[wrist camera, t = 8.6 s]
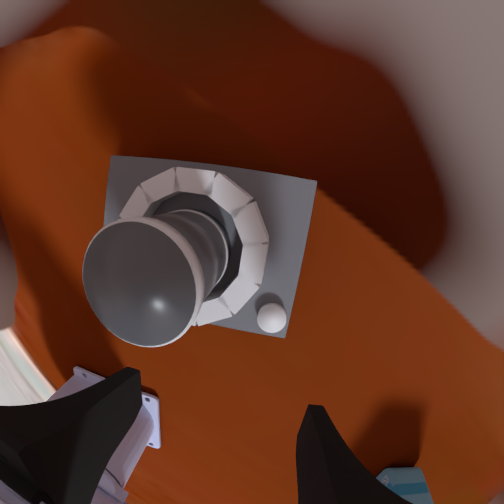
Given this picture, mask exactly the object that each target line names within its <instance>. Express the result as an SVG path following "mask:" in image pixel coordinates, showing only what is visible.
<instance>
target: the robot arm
mask: <svg viewBox="0 0 504 504" xmlns="http://www.w3.org/2000/svg"><path fill="white" fill-rule="evenodd" d="M73 371H74V375H73V376H72V377H71V378H70V379H69V380H68V381H67V382H66V383H65V384H64V385H63V386H62V387H61V388H60V389H59V390H58V391H57V392H56V393H54V394H53V395H52V396H51V397H50V398H49V399H48V400H47V401H46V402H42V403H37V404H31V405H22V406H0V504H128V503H126V502H125V500H126V498H127V496H128V492H126V491H125V490H124V489H123V488H124V487H125V485H126V483H127V481H128V479H129V477H130V475H131V473H132V472H133V470H134V468H135V466H136V464H137V462H138V460H139V458H140V457H141V455H142V453H143V451H144V449H145V447H146V445H148V446H151V447H154V448H160V446H161V438H160V418H159V399H158V398H157V397H156V396H154V395H151V394H148V393H145V392H142V390H141V377H140V370H137V369H134V368H130V367H126V368H124V369H122V370H120V371H119V372H117V373H115V374H113V375H111V376H109V377H108V378H104V377H102V376H99V375H97V374H95V373H92V372H90V371H87V370H85V369H83V368H81V367H78V366H75V367H74V368H73ZM148 398H149V399H148ZM296 467H297V482H298V504H413V503H411V502H409V501H407V500H405V499H403V498H402V497H400V496H399V495H397V494H396V493H394V492H393V491H391V490H390V489H389V488H387V487H386V486H385V485H384V484H382V483H381V482H380V481H379V480H378V479H376V478H375V477H374V476H373V475H372V474H371V473H370V472H369V471H368V470H367V469H366V468H365V467H364V466H363V465H362V464H361V463H360V461H359V460H358V459H357V458H356V457H355V455H354V454H353V453H352V451H351V450H350V449H349V447H348V446H347V445H346V443H345V442H344V440H343V439H342V437H341V436H340V434H339V432H338V431H337V429H336V428H335V426H334V424H333V422H332V421H331V419H330V417H329V415H328V414H327V412H326V410H325V408H324V407H323V406H321V405H309V404H308V407H307V410H306V413H305V416H304V419H303V421H302V424H301V427H300V429H299V432H298V435H297V444H296Z"/></svg>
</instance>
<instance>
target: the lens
mask: <svg viewBox="0 0 504 504" xmlns="http://www.w3.org/2000/svg"><path fill="white" fill-rule="evenodd" d="M230 257H231V244H230V239H229V236H228V234H227V231H226V230H225V228H224V226H223V225H222V224H221V223H220V222H219V221H218V220H217V219H216V218H215V217H214V216H212V215H211V214H209V213H207V212H204V211H201V210H196V209H181V210H176V211H172V212H169V213H165V214H160V215H155V216H150V217H131V218H126V219H121V220H117V221H114V222H112V223H110V224H108V225H106V226H104V227H103V228H102V229H101V230H100V231H98V233H97V234H96V235H95V236H94V237H93V239H92V240H91V242H90V243H89V246H88V248H87V250H86V253H85V256H84V261H83V271H82V273H83V284H84V289H85V293H86V296H87V299H88V302H89V304H90V306H91V308H92V310H93V311H94V313H95V315H96V316H97V317H98V319H99V320H100V321H101V323H102V324H103V325H104V326H105V327H106V328H107V329H108V330H109V331H111V332H112V333H113V334H114V335H116V336H117V337H119V338H120V339H122V340H124V341H126V342H129V343H131V344H134V345H138V346H143V347H159V346H164V345H167V344H170V343H172V342H174V341H176V340H177V339H178V338H180V337H181V336H182V335H183V334H184V333H185V332H186V331H187V330H188V329H189V327H190V326H191V325H192V323H193V322H194V320H195V319H196V317H197V315H198V313H199V311H200V309H201V306H202V303H203V302H204V301H205V299H206V298H207V296H208V295H209V293H210V292H211V291H212V289H213V288H214V286H215V285H216V284H217V283H218V282H219V281H220V279H221V278H222V277H223V275H224V273H225V271H226V269H227V267H228V264H229V261H230Z"/></svg>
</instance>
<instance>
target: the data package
mask: <svg viewBox="0 0 504 504" xmlns="http://www.w3.org/2000/svg"><path fill="white" fill-rule="evenodd" d="M376 479H378V480H379V481H380V482H381V483H382V484H384V485H385V486H386V487H387V488H389V489H390V490H391V491H393V492H394V493H396V494H397V495H399V496H400V497H402V498H403V499H405V500H407V501H409V502H411V503H413V504H433V501H432V498H431V495H430V492H429V489H428V486H427V484H426V481H425V478H424V475H423V473H422V470H421V469H420V468H418V467H401V468H386V469H384V470H383V471H382V472H381V473H380V474H379V475H378V476H377V477H376Z"/></svg>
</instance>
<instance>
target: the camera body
mask: <svg viewBox="0 0 504 504" xmlns="http://www.w3.org/2000/svg"><path fill="white" fill-rule="evenodd" d="M316 185H317V181H313V180H308V179H303V178H298V177H292V176H287V175H281V174H275V173H269V172H263V171H257V170H250V169H244V168H237V167H230V166H222V165H215V164H206V163H198V162H189V161H179V160H169V159H158V158H146V157H132V156H115V155H111V161H110V168H109V175H108V183H107V192H106V203H105V214H104V226H106V225H108V224H110V223H112V222H114V221H117V220H121V219H126V218H131V217H150V216H155V215H160V214H165V213H169V212H172V211H176V210H181V209H196V210H201V211H204V212H207V213H209V214H211V215H212V216H214V217H215V218H216V219H217V220H218V221H219V222H220V223H221V224H222V225H223V226H224V228H225V230H226V231H227V234H228V236H229V239H230V244H231V257H230V261H229V264H228V267H227V269H226V271H225V273H224V275H223V277H222V278H221V279H220V281H219V282H218V283H217V284H216V285H215V286H214V288H213V289H212V291H211V292H210V293H209V295H208V296H207V298H206V299H205V301H204V302H203V303H202V306H201V309H200V311H199V313H198V315H197V317H196V319H195V320H194V322H193V323H192V325H193V326H196V324H198V326H201V325H204V324H208V323H209V324H213V325H218V326H223V327H228V328H232V329H237V330H242V331H247V332H253V333H258V334H263V335H269V336H275V337H280V338H285V336H286V331H287V327H288V323H289V319H290V314H291V310H292V306H293V301H294V297H295V292H296V288H297V283H298V279H299V274H300V269H301V264H302V259H303V255H304V250H305V245H306V240H307V234H308V229H309V224H310V219H311V213H312V208H313V202H314V197H315V191H316Z"/></svg>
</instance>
